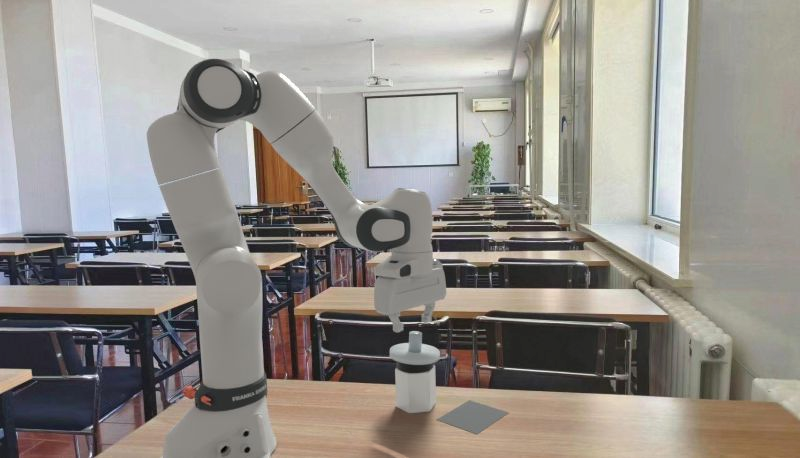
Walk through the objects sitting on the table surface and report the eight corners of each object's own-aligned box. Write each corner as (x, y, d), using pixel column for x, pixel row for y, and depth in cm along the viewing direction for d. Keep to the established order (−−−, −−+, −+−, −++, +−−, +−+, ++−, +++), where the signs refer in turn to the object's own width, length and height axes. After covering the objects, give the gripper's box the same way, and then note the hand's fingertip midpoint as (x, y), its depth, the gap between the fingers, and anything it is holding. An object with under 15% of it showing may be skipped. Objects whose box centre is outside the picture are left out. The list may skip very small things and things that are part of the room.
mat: (476, 438, 103) (476, 434, 103) (436, 423, 109) (436, 419, 109) (508, 416, 112) (508, 412, 111) (469, 403, 118) (469, 400, 118)
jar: (443, 408, 116) (442, 355, 115) (415, 420, 111) (414, 365, 110) (417, 396, 123) (415, 346, 122) (389, 406, 118) (387, 354, 117)
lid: (417, 368, 108) (419, 344, 107) (379, 355, 115) (380, 331, 115) (449, 357, 116) (451, 333, 116) (411, 344, 123) (412, 323, 123)
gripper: (430, 256, 123) (431, 314, 125) (368, 268, 108) (369, 334, 110) (452, 259, 119) (453, 319, 120) (390, 271, 104) (391, 340, 105)
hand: (412, 326), depth 115 cm, fingers open, 8 cm apart
